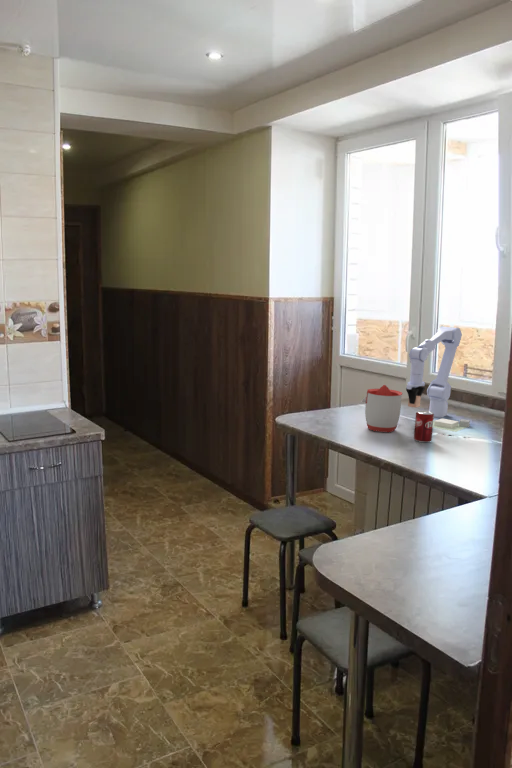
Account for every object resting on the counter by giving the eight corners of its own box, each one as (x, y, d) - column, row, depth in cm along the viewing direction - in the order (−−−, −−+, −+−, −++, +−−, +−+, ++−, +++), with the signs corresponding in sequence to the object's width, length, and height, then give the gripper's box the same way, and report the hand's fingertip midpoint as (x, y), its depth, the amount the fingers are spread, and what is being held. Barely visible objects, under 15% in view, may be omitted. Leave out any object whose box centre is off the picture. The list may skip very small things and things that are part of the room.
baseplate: (436, 421, 304) (437, 419, 304) (470, 428, 294) (470, 425, 294) (421, 427, 292) (421, 425, 292) (455, 434, 282) (455, 431, 282)
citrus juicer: (360, 423, 294) (363, 380, 290) (399, 427, 291) (402, 383, 287) (358, 431, 279) (361, 386, 275) (399, 435, 276) (403, 389, 272)
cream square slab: (441, 422, 299) (442, 418, 298) (458, 425, 294) (458, 421, 293) (434, 425, 293) (434, 420, 292) (450, 428, 288) (451, 424, 287)
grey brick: (460, 424, 297) (460, 419, 296) (469, 425, 295) (470, 420, 294) (459, 426, 293) (459, 420, 292) (468, 427, 291) (468, 421, 291)
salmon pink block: (411, 405, 302) (412, 394, 301) (419, 406, 299) (420, 395, 298) (407, 406, 299) (408, 395, 298) (415, 407, 296) (416, 396, 295)
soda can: (432, 439, 271) (434, 411, 269) (430, 443, 264) (433, 415, 262) (414, 437, 273) (416, 409, 271) (412, 441, 266) (415, 413, 264)
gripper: (415, 371, 304) (413, 399, 307) (401, 374, 293) (399, 403, 296) (429, 373, 300) (427, 401, 302) (415, 376, 289) (413, 406, 291)
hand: (414, 402), depth 299 cm, fingers closed on salmon pink block, 4 cm apart
